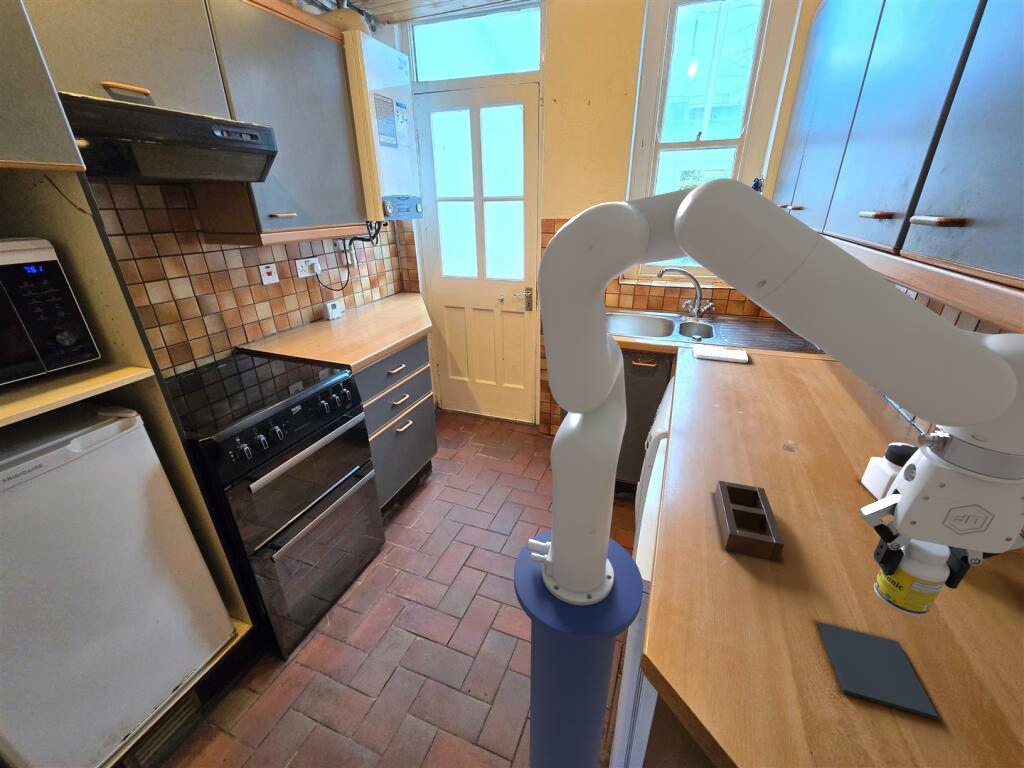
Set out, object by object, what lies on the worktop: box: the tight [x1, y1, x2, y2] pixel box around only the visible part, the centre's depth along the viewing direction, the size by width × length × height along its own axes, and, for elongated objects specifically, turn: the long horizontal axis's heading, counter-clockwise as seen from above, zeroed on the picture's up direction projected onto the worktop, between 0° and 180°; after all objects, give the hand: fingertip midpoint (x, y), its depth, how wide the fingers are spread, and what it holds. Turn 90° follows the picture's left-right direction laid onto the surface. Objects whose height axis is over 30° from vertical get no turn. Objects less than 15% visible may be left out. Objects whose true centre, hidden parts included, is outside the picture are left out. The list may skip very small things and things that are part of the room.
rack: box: [714, 480, 785, 562], centre depth 81 cm, size 9×16×4 cm, turn 162°
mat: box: [817, 622, 939, 720], centre depth 57 cm, size 10×10×1 cm
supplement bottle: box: [873, 539, 951, 617], centre depth 51 cm, size 5×5×10 cm
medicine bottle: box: [860, 442, 920, 501], centre depth 87 cm, size 7×7×12 cm
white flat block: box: [693, 344, 749, 364], centre depth 170 cm, size 13×20×2 cm, turn 69°
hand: (913, 571), depth 50 cm, fingers closed on supplement bottle, 5 cm apart
